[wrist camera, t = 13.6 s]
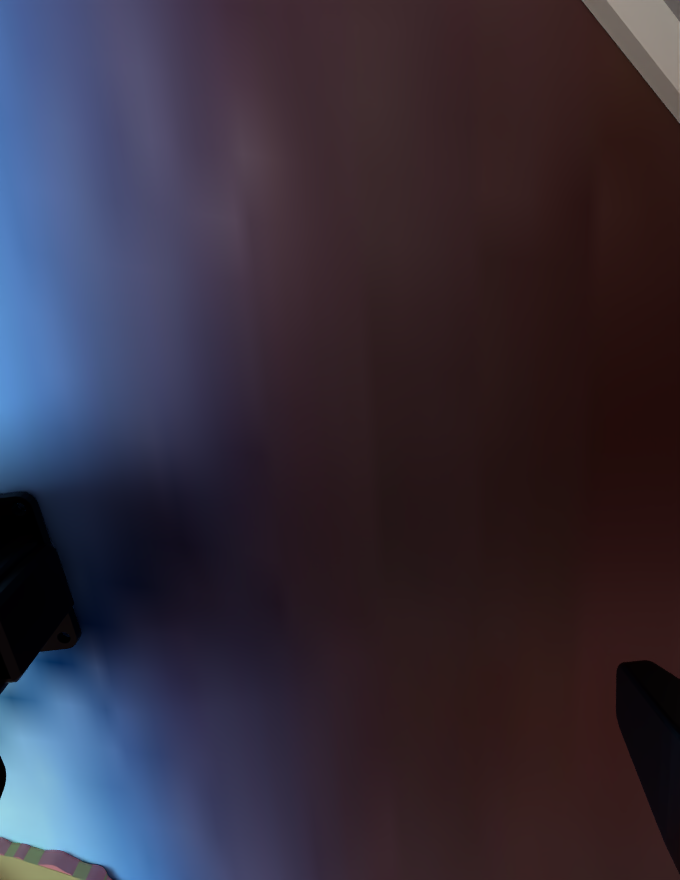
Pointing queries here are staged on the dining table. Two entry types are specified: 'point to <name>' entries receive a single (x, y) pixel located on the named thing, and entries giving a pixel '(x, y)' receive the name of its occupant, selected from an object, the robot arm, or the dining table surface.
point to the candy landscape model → (44, 864)
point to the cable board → (647, 41)
